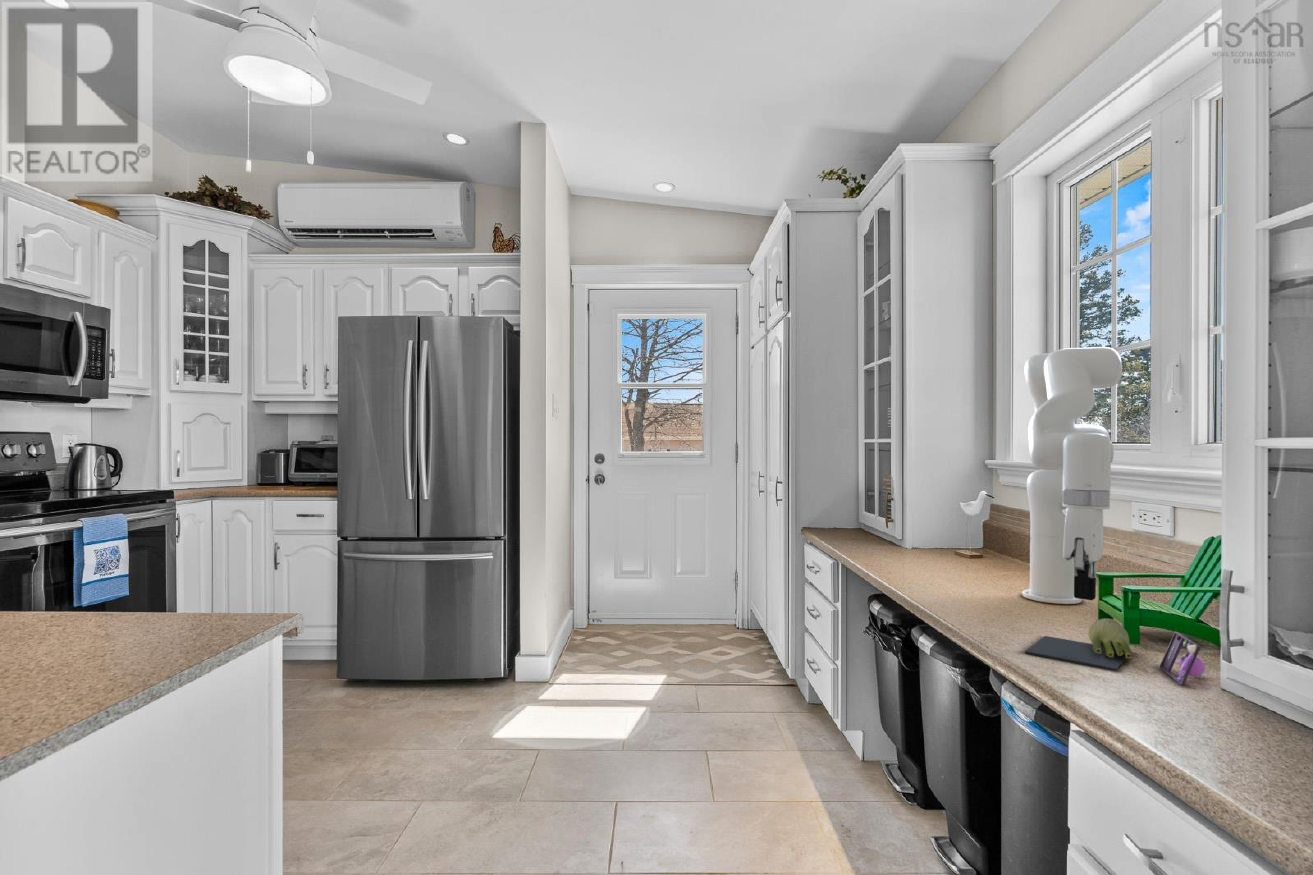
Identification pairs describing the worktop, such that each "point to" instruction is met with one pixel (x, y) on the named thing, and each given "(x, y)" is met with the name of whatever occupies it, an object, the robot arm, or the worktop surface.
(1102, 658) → the mat
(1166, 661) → the purple toy package
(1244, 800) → the worktop surface
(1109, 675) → the worktop surface
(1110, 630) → the fennel bulb
